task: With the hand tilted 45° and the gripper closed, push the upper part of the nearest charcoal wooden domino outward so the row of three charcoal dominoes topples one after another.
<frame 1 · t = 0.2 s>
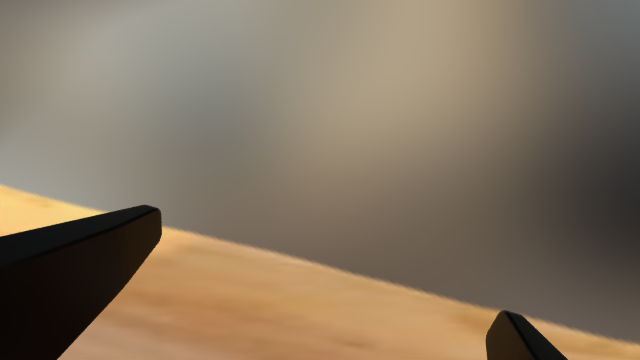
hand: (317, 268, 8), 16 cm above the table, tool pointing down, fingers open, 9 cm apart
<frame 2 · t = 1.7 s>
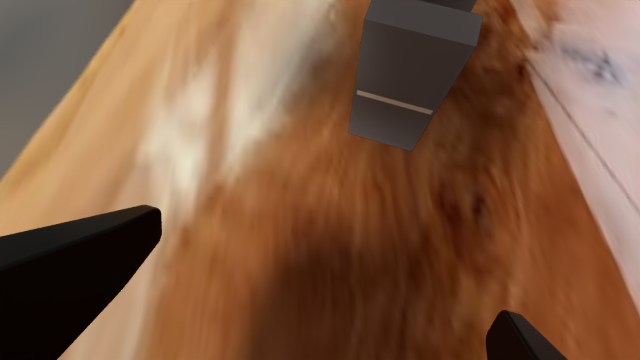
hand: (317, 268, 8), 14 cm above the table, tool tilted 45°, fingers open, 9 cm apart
domino 1: (382, 132, 25), on the table
domino 2: (398, 80, 26), on the table
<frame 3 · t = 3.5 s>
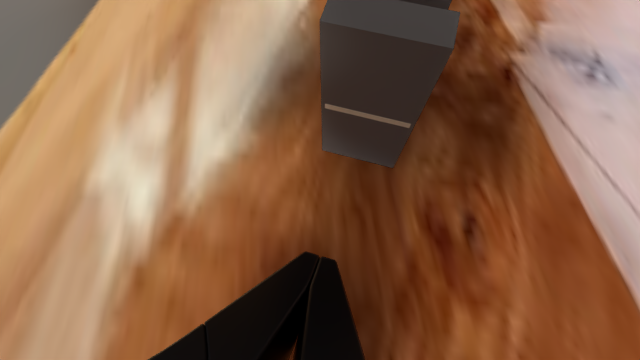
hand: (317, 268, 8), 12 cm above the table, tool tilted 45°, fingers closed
domino 1: (360, 147, 22), on the table
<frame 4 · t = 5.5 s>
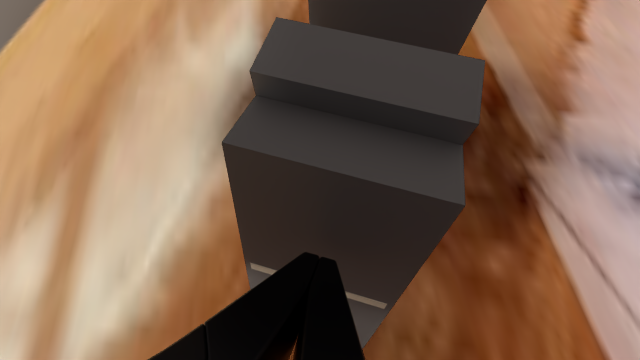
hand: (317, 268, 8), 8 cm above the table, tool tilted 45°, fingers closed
domino 3: (360, 139, 19), on the table
domino 1: (312, 314, 15), on the table, tilted 21°
domino 2: (339, 218, 17), on the table
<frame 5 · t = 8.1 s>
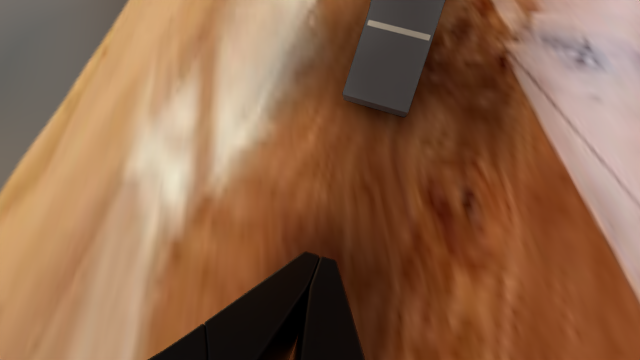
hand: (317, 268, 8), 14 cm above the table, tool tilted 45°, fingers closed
domino 1: (374, 106, 24), point 1 cm above the table, tilted 68°, touching domino 2
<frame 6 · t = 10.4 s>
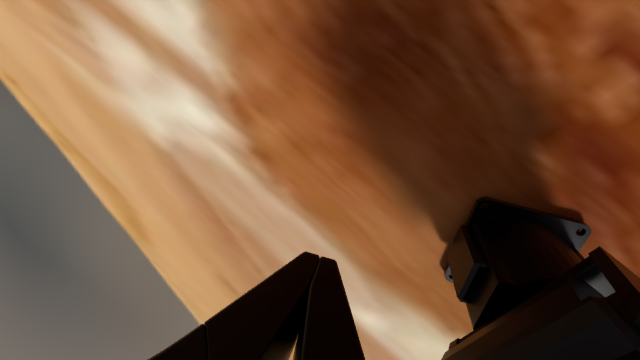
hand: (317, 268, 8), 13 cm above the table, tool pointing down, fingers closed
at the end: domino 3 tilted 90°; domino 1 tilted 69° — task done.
